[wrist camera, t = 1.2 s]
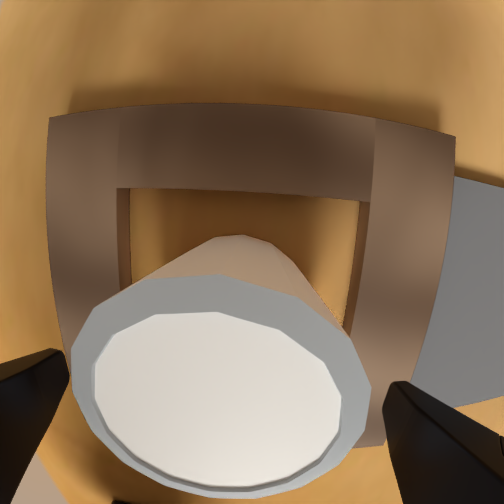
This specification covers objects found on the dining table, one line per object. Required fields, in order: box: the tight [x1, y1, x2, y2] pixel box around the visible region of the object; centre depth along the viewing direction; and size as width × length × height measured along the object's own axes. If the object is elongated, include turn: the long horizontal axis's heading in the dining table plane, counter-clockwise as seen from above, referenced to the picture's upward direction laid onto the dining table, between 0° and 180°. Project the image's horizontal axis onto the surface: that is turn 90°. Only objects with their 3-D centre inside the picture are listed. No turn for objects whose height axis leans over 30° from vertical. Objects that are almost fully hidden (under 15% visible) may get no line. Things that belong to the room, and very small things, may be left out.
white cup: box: [71, 234, 372, 499], centre depth 9 cm, size 7×7×7 cm
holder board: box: [46, 103, 456, 448], centre depth 12 cm, size 15×16×1 cm
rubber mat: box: [410, 176, 504, 408], centre depth 12 cm, size 12×10×1 cm
